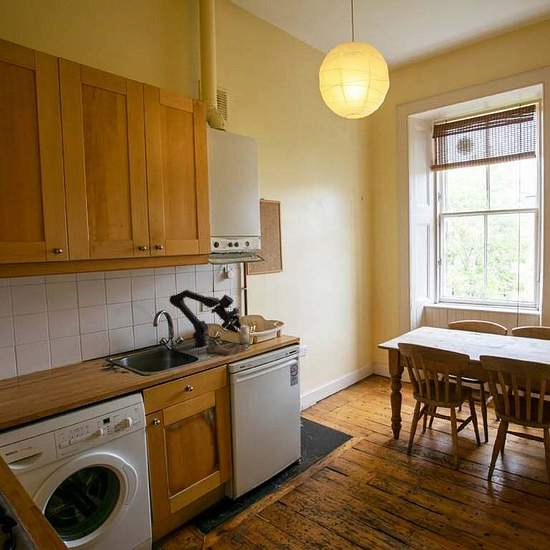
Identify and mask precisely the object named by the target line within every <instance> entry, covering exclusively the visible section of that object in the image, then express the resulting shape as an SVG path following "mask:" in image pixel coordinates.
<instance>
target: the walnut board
mask: <svg viewBox="0 0 550 550" xmlns="http://www.w3.org/2000/svg"><path fill="white" fill-rule="evenodd" d="M242 351H243V352H246V348H245V346H243V344H242V345H241V344H237V343H234V342H230V343H225V344H222V345H218V346H214V353H216V352H217V354H220V353H221V355H224V354H227V355H226V356H228V355H229V356H232V355H231V354H233V355H235V354H234V353H236V354H239V353H238V352H240V353H243V352H242Z"/></svg>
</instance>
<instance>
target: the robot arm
mask: <svg viewBox="0 0 550 550" xmlns="http://www.w3.org/2000/svg"><path fill="white" fill-rule="evenodd" d="M185 298H188V299H190V300H194V301H196V302H199V303H202V304H203V306H205V307H207V308H210V309H211V314H216V315H217V316H218V317H219V320H223V323H221V328H222V329H224V330H228V331H230V332H233V333H236V334H238V333H239V330H240V326H242V324H241V322H240V315H239V313H240V310H239V309H238V307H234V308H233V309H232V310H231V311H229V310H227V309H228V308H229V307H230V306H231V305H232V304H233V303H234V300H233V298H232V297H230V296H229V295H227V294H224V295H223V297H222V298H221V299H218V298H216V297H215V296H214V297H213V296H204V295H202V294H200V293H196V292H193V291H191V290H189V289H185V290H183V291H181V292H179V293H177V294H172V295H171V296H170V297H169V300H168V301H169V303H170V304H171V305H173V307H175V308H178V309H179V310H180V312H181V313H182V314H183V315H184V317H186V319H187V320H188V321H189V322H190V323H191V324H192V325H193V329H194V332H193V334H192V337H193V338H194V345H193V347H194V348H203V347H205V345H206V346H208V344H207V339H206V336H207V333H208V331H209V326H208V324H207V323H206V322H205V320H199V318H198V317H197V316H196V315H195V314H194V313H193V311H191V309H190V308H189V307H188V306H187V305H186V303H185ZM238 329H239V330H238Z"/></svg>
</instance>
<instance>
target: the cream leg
mask: <svg viewBox="0 0 550 550" xmlns="http://www.w3.org/2000/svg"><path fill="white" fill-rule="evenodd" d="M239 330H240V345H241V344H242V345H243V346H245V349H247V348H249V345H248V344H250V327H249V325H241V326H240V329H239Z"/></svg>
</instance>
